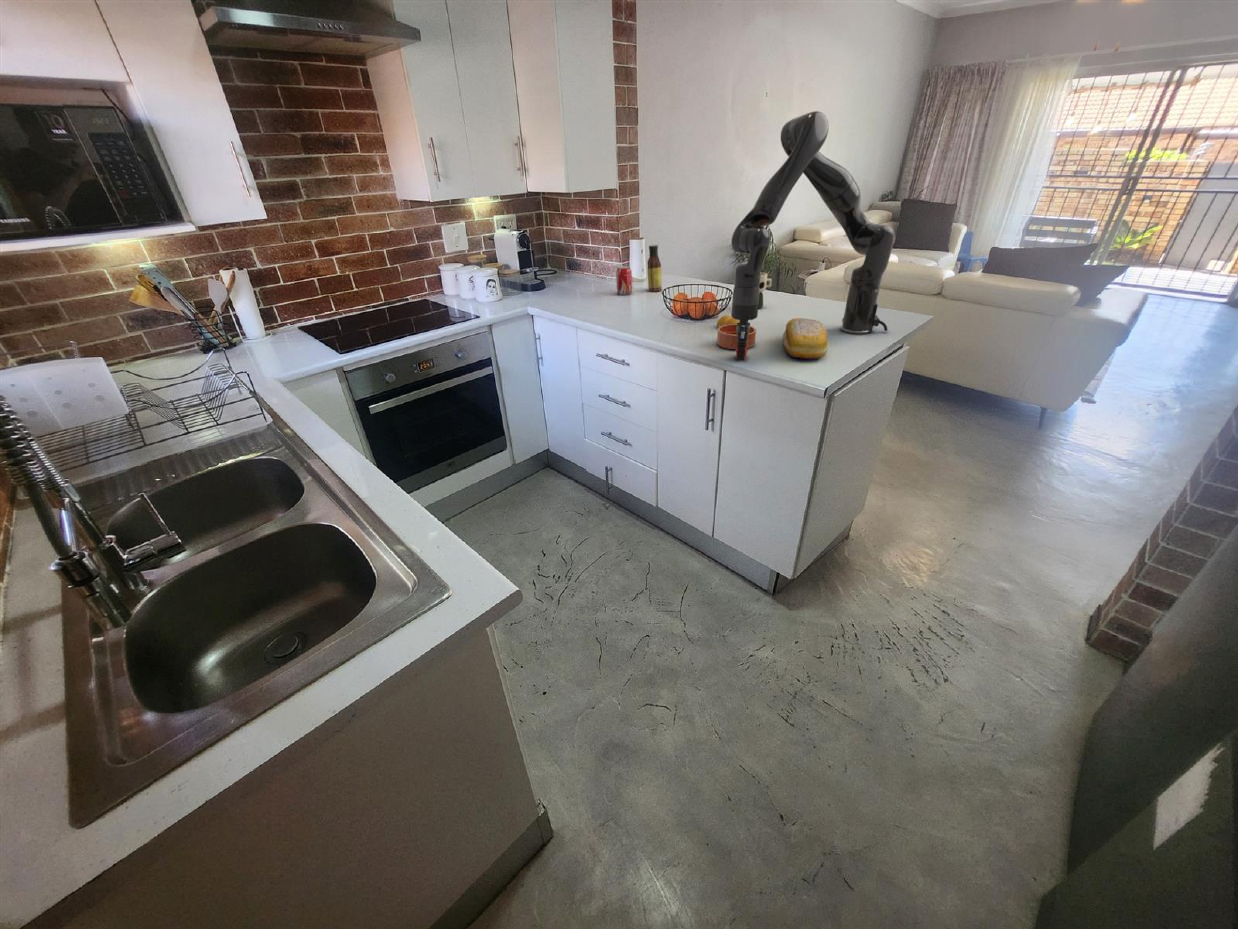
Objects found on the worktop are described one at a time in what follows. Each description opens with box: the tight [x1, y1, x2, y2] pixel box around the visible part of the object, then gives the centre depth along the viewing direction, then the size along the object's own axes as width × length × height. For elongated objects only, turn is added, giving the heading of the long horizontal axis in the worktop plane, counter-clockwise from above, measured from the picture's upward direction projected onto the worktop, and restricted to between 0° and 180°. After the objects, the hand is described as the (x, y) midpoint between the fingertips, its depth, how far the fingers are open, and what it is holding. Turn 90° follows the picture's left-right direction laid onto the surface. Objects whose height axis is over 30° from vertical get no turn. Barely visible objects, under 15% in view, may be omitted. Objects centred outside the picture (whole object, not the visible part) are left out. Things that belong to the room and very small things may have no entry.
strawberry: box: [735, 348, 748, 360], centre depth 155 cm, size 3×3×4 cm
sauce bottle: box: [647, 244, 663, 293], centre depth 233 cm, size 7×6×20 cm
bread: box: [782, 317, 829, 360], centre depth 159 cm, size 13×26×8 cm, turn 169°
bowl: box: [716, 324, 757, 350], centre depth 166 cm, size 12×12×5 cm
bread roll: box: [716, 315, 740, 328], centre depth 183 cm, size 8×9×4 cm
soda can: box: [615, 265, 633, 296], centre depth 232 cm, size 7×7×12 cm
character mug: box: [758, 272, 773, 309], centre depth 201 cm, size 11×7×13 cm, turn 79°
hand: (740, 357), depth 156 cm, fingers closed on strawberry, 3 cm apart
